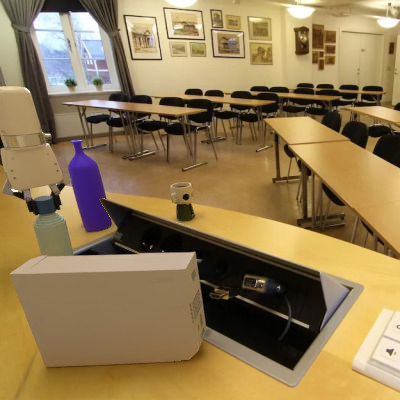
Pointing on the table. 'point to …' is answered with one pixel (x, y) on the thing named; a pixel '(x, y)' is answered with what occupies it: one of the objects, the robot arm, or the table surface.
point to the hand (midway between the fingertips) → (46, 210)
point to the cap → (45, 205)
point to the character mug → (183, 200)
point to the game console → (112, 307)
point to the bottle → (88, 190)
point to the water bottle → (53, 235)
